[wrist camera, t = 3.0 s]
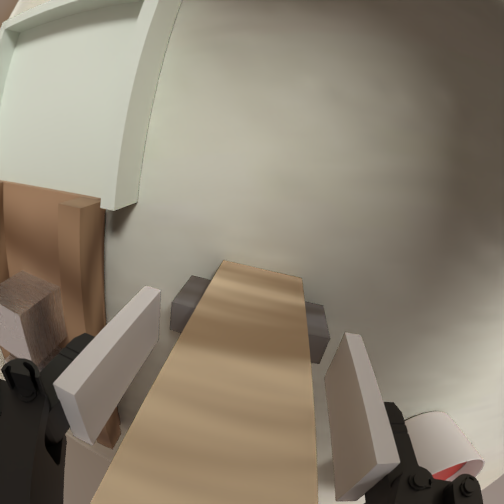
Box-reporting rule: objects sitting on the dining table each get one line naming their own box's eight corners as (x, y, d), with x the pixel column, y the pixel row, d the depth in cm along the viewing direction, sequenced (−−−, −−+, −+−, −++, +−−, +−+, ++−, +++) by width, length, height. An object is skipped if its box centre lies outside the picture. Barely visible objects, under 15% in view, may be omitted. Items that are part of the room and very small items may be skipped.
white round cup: (453, 439, 18) (471, 487, 12) (368, 470, 20) (375, 523, 14) (465, 383, 16) (497, 441, 10) (359, 425, 18) (371, 494, 12)
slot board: (3, 178, 15) (-27, 185, 12) (113, 197, 14) (80, 208, 11) (36, 380, 21) (20, 397, 18) (125, 426, 21) (112, 449, 18)
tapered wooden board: (194, 253, 15) (-7, 514, 1) (330, 284, 14) (393, 602, 1) (186, 318, 16) (61, 551, 3) (307, 346, 16) (311, 609, 2)
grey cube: (22, 270, 15) (-17, 293, 12) (60, 286, 15) (19, 315, 12) (30, 317, 17) (-2, 343, 13) (67, 336, 17) (34, 368, 13)
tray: (22, 27, 11) (3, 22, 8) (185, -9, 10) (170, -29, 8) (-6, 176, 15) (-28, 181, 12) (137, 202, 14) (114, 210, 12)
